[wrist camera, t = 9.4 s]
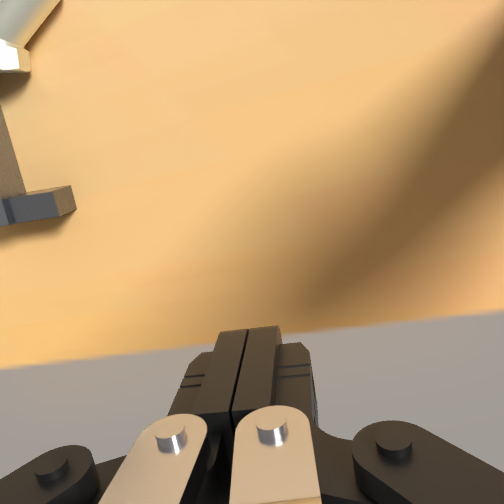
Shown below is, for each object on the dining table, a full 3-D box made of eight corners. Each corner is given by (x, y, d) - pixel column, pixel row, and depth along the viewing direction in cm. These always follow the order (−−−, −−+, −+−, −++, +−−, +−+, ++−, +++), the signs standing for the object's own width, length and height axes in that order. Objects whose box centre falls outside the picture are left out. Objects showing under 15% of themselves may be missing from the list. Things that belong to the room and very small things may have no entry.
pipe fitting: (67, -43, 35) (-23, -42, 35) (45, -61, 31) (-57, -60, 32) (79, 72, 38) (-6, 73, 38) (59, 68, 34) (-35, 69, 34)
